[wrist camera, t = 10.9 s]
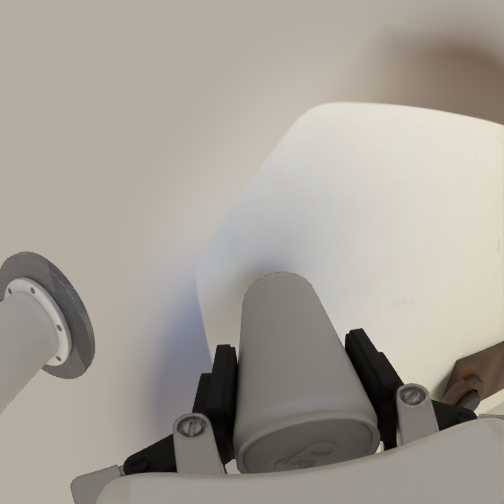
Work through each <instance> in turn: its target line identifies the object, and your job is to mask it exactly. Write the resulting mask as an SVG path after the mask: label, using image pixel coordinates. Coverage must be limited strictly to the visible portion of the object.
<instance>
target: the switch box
mask: <svg viewBox="0 0 504 504" xmlns="http://www.w3.org/2000/svg"><path fill="white" fill-rule="evenodd" d="M502 389H504V342H501V343H499V344H497V345H495V346H493V347H490V348H488V349H486V350H483V351H481V352H478V353H476V354H473V355H471V356H468V357H466V358H463V359H460V360H458V361H456V364H455V367H454V370H453V373H452V375H451V378H450V381H449V383H448V386H447V389H446V391H445V394H444V396H443V399H442V401H441V402H442V403H446V404H450V405H455V404H456V403H457V402H458V400H459V399H460V398H461V397H462V396H463V395H464V394H466V393H467V392H468V391H471V390H474V391H475V392H476V393H477V394H478V396H479V397H480V398H481V401H482V400H484V399H486V398H487V397H489V396H491V395H493V394H495V393H497V392H498V391H500V390H502Z"/></svg>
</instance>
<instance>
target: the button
mask: <svg viewBox="0 0 504 504" xmlns="http://www.w3.org/2000/svg"><path fill="white" fill-rule="evenodd" d="M480 401H481V398H480V397H479V396H478V394H477V393H476V392H475V391H474V390H471V391H468V392H467V393H466V394H464V395H463V396H462V397H461V398H460V399H459V400H458V402H457V403H456V404H455V406H459V407H464V408H467V409H470V410H472V411H474V410H475V409H476V408H477V407H478V405H479V403H480Z"/></svg>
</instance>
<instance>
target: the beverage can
mask: <svg viewBox="0 0 504 504" xmlns="http://www.w3.org/2000/svg"><path fill="white" fill-rule="evenodd" d="M379 444H380V432H379V431H378V429H377V415H376V413H375V411H374V409H373V406H372V404H371V402H370V400H369V398H368V396H367V394H366V392H365V390H364V387H363V385H362V383H361V381H360V379H359V377H358V375H357V373H356V371H355V369H354V367H353V365H352V363H351V361H350V359H349V357H348V355H347V353H346V351H345V349H344V347H343V345H342V343H341V341H340V339H339V337H338V335H337V333H336V331H335V329H334V327H333V325H332V323H331V321H330V319H329V317H328V316H327V314H326V312H325V310H324V308H323V306H322V304H321V302H320V300H319V298H318V296H317V294H316V293H315V291H314V289H313V287H312V285H311V284H310V283H309V282H308V281H307V280H306V279H305V278H303V277H301V276H299V275H297V274H295V273H290V272H276V273H273V274H269V275H266V276H264V277H262V278H260V279H258V280H257V281H256V282H255V283H253V284H252V285H251V286H250V287H249V289H248V290H247V292H246V293H245V295H244V299H243V303H242V316H241V330H240V343H239V357H238V371H237V386H236V400H235V415H234V429H233V446H234V453H235V455H236V462H237V468H238V470H239V471H240V473H241V474H254V473H270V472H281V471H290V470H298V469H306V468H312V467H318V466H324V465H330V464H335V463H340V462H344V461H349V460H353V459H357V458H361V457H365V456H369V455H373V454H375V453H376V451H377V449H378V447H379Z"/></svg>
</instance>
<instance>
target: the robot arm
mask: <svg viewBox="0 0 504 504" xmlns="http://www.w3.org/2000/svg"><path fill="white" fill-rule="evenodd" d="M71 348H72V341H71V335H70V330H69V328H68V325H67V322H66V320H65V317H64V315H63V313H62V311H61V310H60V308H59V306H58V304H57V303H56V302H55V300H54V299H53V298H52V296H51V295H50V294H49V293H48V292H47V291H46V290H45V289H44V288H43V287H42V286H41V285H40V284H39V283H37V282H35V281H34V280H32V279H29V278H27V277H20V278H16V279H15V280H13V281H11V282H10V283H9V284H8V286H7V288H6V291H5V296H4V300H3V301H1V302H0V414H1V413H2V411H3V410H4V409H5V408H6V407H7V405H9V403H10V402H11V401H12V400H13V399H14V398H15V397H16V395H17V394H18V393H19V392H20V391H21V390H22V389H23V388H24V386H25V385H26V384H27V383H28V382H29V381H30V380H31V379H32V378H33V377H34V376H35V375H36V374H37V372H38V371H39V370H40V369H41V368H42V367H43V366H44V365H45V364H47V365H51V366H58V365H61V364H62V363H64V362H65V361H66V360H67V359H68V357H69V355H70V353H71ZM345 351H346V353H347V355H348V357H349V359H350V361H351V363H352V365H353V367H354V369H355V371H356V373H357V375H358V377H359V379H360V381H361V383H362V385H363V387H364V390H365V392H366V394H367V396H368V398H369V400H370V402H371V404H372V406H373V409H374V411H375V413H376V415H377V429H378V431H379V432H380V441H381V443H380V445H381V452H380V453H376V454H373V455H369V456H365V457H361V458H357V459H353V460H349V461H344V462H340V463H335V464H330V465H324V466H318V467H312V468H306V469H298V470H290V471H281V472H270V473H254V474H228V472H227V469H226V466H225V464H227V463H228V462H230V461H231V460H232V459H236V455H235V453H234V446H233V429H234V415H235V400H236V386H237V371H238V363H237V357H236V351H235V347H230V344H225V345H217V348H216V353H215V358H214V364H213V369H212V373H202V374H201V376H200V381H199V385H198V389H197V393H196V397H195V402H194V406H193V410H192V413H188V414H185V415H182V416H181V417H179V418H178V419H177V420H176V421H175V423H174V424H173V434H171V435H169V436H168V437H166V438H164V439H162V440H160V441H158V442H156V443H155V444H153V445H151V446H149V447H147V448H145V449H143V450H141V451H139V452H137V453H135V454H133V455H131V456H130V457H128V458H127V460H126V461H125V462H124V465H123V466H120V467H118V466H117V465H114V466H111V467H109V468H105V469H102V470H99V471H95V472H92V473H89V474H85V475H81V476H79V477H77V478H75V479H74V480H73V481H72V483H71V492H72V495H73V498H74V502H75V504H504V415H490V414H489V415H488V414H479V416H476V414H475V413H474V412H473V411H472V410H470V409H467V408H464V407H459V406H455V405H450V404H446V403H442V402H438V401H434V400H431V398H430V395H429V392H428V390H427V389H426V388H425V387H424V386H422V385H419V384H413V383H410V384H405V385H404V383H403V382H402V380H401V379H400V377H399V376H398V374H397V373H396V371H395V370H394V368H393V367H392V365H391V364H390V362H389V361H388V359H387V358H386V356H385V355H384V353H383V352H378V351H377V350H376V348H375V347H374V345H373V344H372V342H371V341H370V339H369V338H368V336H367V335H366V333H365V332H364V330H363V329H362V328H360V329H354V330H350V332H349V334H346V337H345Z"/></svg>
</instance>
